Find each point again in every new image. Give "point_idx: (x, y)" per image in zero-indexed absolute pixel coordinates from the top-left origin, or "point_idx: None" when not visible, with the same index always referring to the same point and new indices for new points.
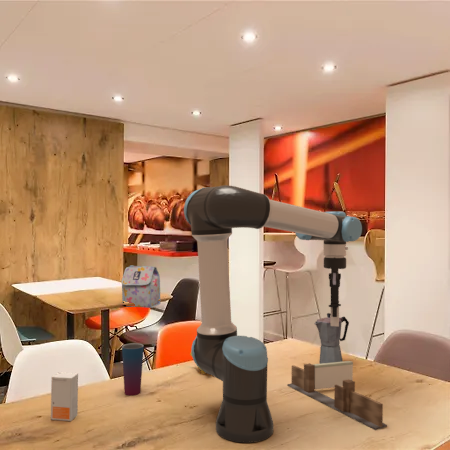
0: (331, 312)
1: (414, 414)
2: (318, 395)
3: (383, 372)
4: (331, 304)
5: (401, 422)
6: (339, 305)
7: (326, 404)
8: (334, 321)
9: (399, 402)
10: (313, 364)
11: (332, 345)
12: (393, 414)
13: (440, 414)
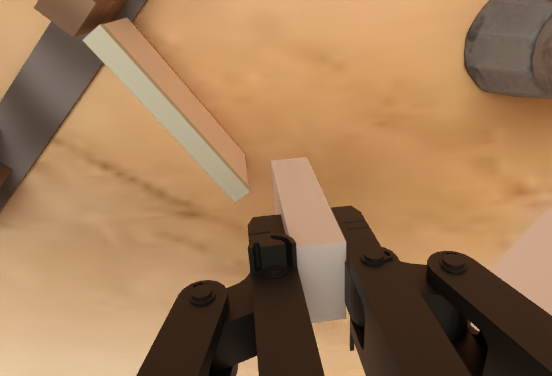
0: (283, 223)
1: (95, 323)
2: (75, 49)
3: (441, 235)
4: (176, 308)
5: (15, 301)
6: (350, 332)
7: (7, 92)
8: (277, 206)
9: (168, 289)
10: (97, 26)
11: (535, 69)
12: (62, 281)
13: (130, 369)
